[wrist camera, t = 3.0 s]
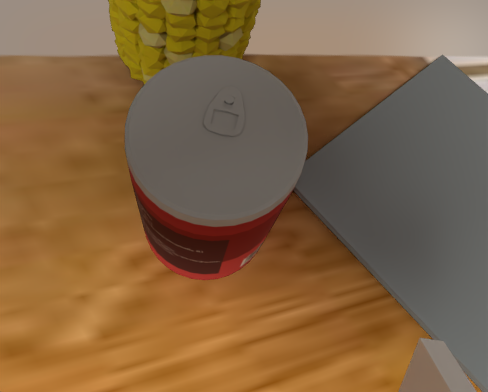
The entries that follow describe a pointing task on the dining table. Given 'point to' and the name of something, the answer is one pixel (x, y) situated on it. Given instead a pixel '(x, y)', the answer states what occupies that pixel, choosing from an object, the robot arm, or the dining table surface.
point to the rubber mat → (417, 204)
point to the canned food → (213, 161)
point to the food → (179, 31)
